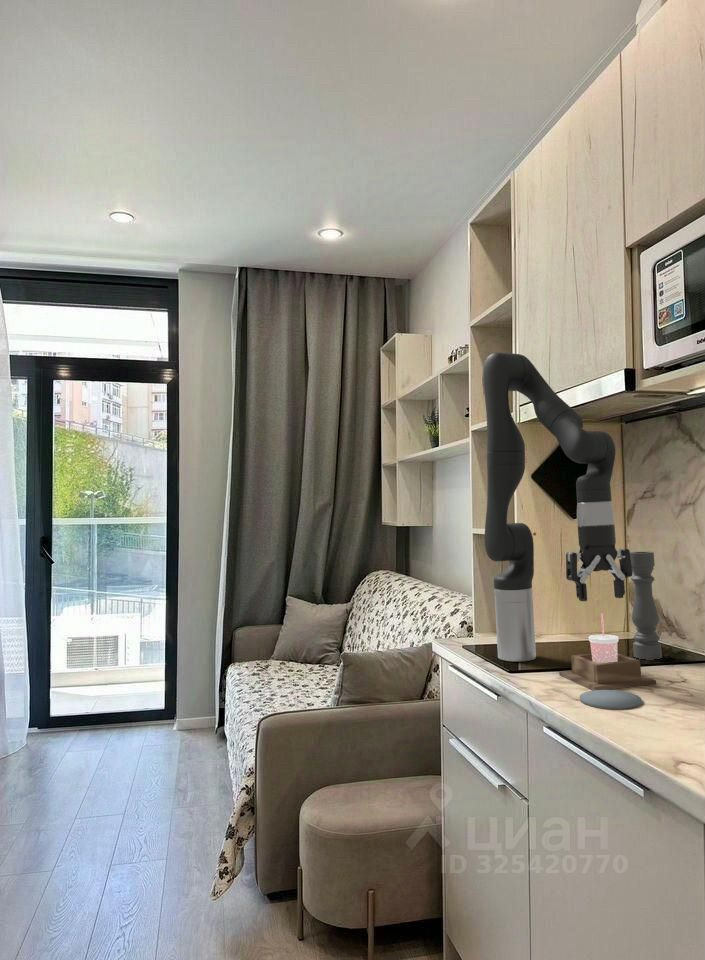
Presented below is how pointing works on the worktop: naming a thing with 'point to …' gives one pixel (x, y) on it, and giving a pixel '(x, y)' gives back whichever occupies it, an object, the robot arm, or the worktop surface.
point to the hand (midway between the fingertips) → (601, 599)
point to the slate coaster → (610, 699)
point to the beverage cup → (603, 646)
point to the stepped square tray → (606, 673)
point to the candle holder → (644, 607)
